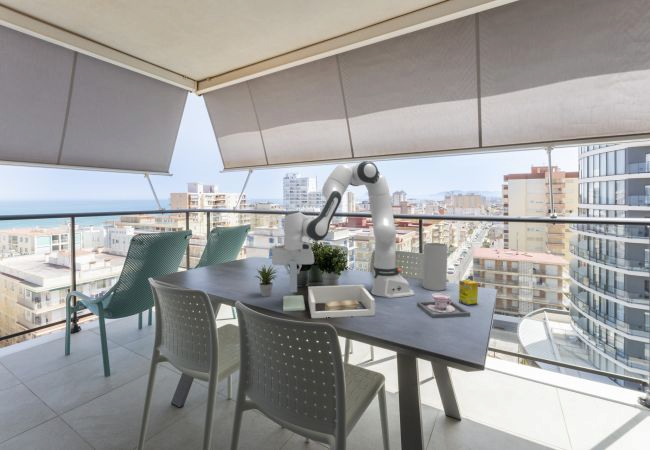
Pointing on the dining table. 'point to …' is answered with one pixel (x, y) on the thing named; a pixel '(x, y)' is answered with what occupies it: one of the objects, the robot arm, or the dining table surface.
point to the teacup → (441, 303)
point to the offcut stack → (341, 305)
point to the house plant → (266, 281)
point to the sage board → (293, 303)
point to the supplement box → (468, 292)
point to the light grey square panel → (293, 275)
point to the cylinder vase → (435, 266)
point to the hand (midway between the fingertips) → (293, 273)
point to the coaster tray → (441, 315)
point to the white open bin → (340, 294)
